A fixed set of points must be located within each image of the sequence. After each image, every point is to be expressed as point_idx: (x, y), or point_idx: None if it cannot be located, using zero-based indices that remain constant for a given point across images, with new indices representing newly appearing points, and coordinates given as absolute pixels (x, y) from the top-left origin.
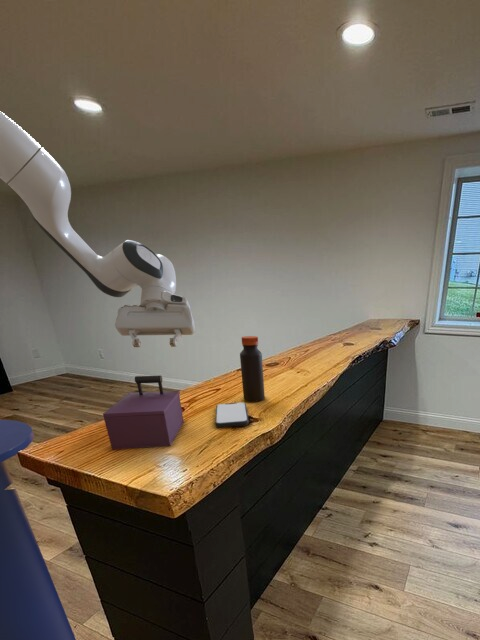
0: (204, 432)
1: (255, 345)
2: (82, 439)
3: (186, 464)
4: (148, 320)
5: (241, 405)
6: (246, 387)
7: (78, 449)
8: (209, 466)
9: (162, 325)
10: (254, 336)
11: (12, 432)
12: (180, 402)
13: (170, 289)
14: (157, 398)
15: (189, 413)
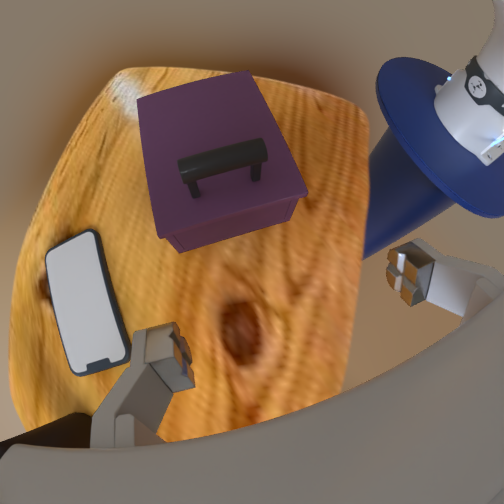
0: (114, 206)
1: None
2: (331, 145)
3: (116, 108)
4: (482, 424)
5: (71, 350)
6: (70, 426)
7: (302, 114)
8: (89, 114)
9: (261, 444)
10: None
11: (446, 165)
12: (165, 237)
13: None
14: (186, 156)
15: (195, 318)
